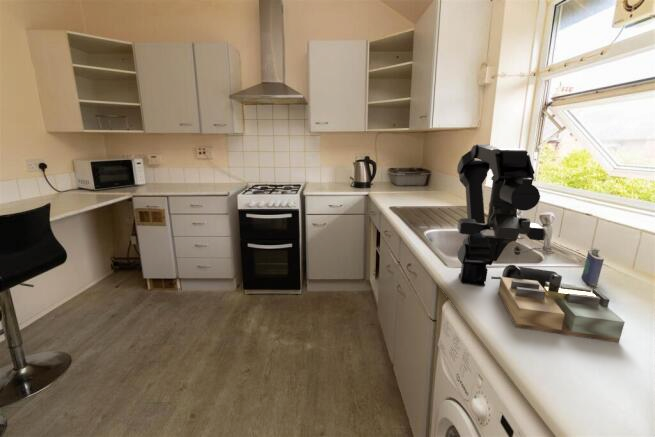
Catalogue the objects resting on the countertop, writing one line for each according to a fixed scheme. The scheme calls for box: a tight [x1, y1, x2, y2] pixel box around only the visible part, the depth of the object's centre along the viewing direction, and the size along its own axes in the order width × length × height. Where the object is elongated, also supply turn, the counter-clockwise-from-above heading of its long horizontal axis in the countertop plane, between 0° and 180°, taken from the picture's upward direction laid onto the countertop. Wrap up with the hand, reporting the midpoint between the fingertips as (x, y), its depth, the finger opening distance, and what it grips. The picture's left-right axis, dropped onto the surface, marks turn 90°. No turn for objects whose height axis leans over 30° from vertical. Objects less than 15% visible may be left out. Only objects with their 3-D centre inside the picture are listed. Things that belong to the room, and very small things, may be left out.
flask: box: [581, 247, 605, 288], centre depth 95 cm, size 9×3×11 cm, turn 151°
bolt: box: [544, 273, 595, 300], centre depth 75 cm, size 10×2×5 cm, turn 75°
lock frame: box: [497, 276, 626, 343], centre depth 77 cm, size 20×17×7 cm
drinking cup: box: [490, 264, 558, 288], centre depth 90 cm, size 8×8×20 cm
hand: (494, 260), depth 81 cm, fingers closed
